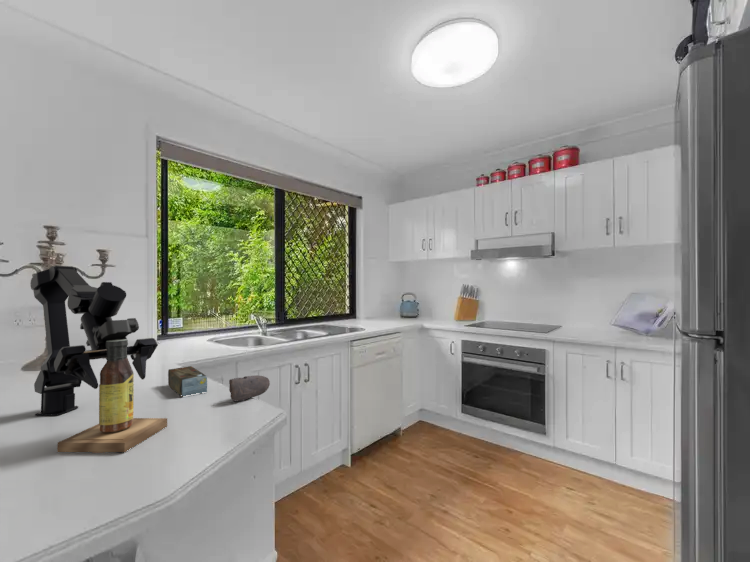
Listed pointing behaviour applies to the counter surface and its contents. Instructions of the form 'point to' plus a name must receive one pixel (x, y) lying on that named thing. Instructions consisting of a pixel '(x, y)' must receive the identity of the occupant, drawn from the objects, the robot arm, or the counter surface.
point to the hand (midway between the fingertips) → (121, 382)
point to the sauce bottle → (116, 389)
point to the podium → (112, 437)
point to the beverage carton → (187, 380)
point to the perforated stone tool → (248, 387)
